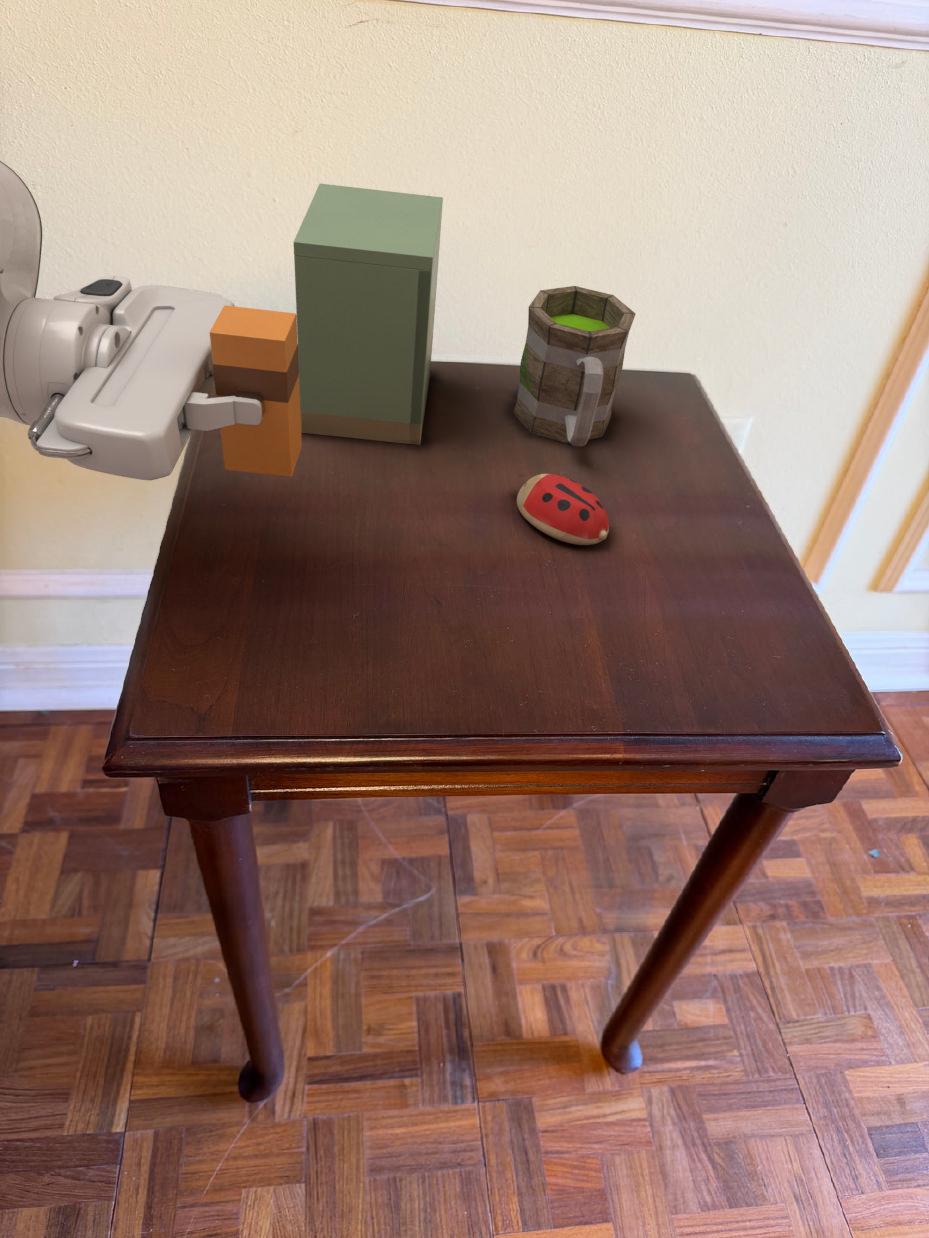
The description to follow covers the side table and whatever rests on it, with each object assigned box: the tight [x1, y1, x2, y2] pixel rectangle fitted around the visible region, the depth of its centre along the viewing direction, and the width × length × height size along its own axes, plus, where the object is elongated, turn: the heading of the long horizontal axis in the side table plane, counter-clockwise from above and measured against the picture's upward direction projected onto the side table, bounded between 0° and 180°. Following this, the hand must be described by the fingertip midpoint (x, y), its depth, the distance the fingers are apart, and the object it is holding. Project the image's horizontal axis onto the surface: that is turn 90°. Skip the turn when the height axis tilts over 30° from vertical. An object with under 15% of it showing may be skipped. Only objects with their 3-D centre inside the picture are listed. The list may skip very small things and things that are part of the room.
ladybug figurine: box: [516, 473, 610, 546], centre depth 82 cm, size 7×10×4 cm
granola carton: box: [209, 305, 303, 478], centre depth 64 cm, size 5×4×11 cm
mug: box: [512, 285, 636, 447], centre depth 91 cm, size 16×11×12 cm
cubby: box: [293, 183, 444, 446], centre depth 88 cm, size 12×14×19 cm
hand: (271, 389), depth 64 cm, fingers closed on granola carton, 4 cm apart
